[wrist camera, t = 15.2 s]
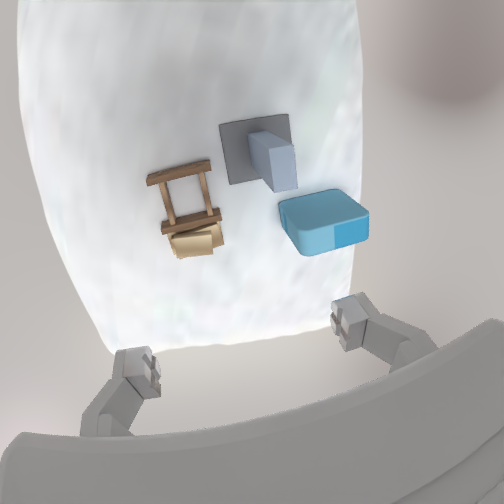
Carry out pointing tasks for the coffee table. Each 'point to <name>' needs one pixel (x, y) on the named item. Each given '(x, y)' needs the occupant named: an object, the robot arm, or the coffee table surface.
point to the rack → (173, 222)
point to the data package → (324, 221)
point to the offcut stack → (196, 240)
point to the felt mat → (239, 148)
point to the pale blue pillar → (273, 160)
